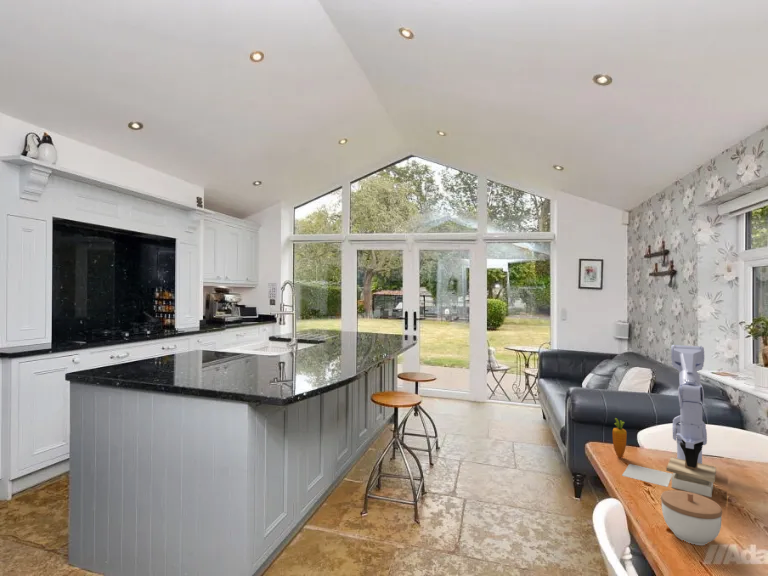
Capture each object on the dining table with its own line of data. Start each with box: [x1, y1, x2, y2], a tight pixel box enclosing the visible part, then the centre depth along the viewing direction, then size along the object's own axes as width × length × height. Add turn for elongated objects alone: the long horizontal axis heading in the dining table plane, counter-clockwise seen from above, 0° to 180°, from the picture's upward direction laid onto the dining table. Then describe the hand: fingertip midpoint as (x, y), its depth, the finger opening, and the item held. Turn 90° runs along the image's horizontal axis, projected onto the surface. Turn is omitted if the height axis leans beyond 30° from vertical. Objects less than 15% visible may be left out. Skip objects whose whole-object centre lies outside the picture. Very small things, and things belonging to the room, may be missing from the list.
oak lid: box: [665, 456, 717, 483], centre depth 133 cm, size 12×12×5 cm
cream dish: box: [671, 472, 714, 498], centre depth 132 cm, size 10×10×4 cm
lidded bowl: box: [660, 489, 723, 546], centre depth 105 cm, size 13×13×11 cm
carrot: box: [612, 417, 628, 459], centre depth 157 cm, size 5×5×15 cm
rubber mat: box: [621, 463, 673, 488], centre depth 141 cm, size 13×13×1 cm
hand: (692, 465), depth 132 cm, fingers closed on oak lid, 3 cm apart
